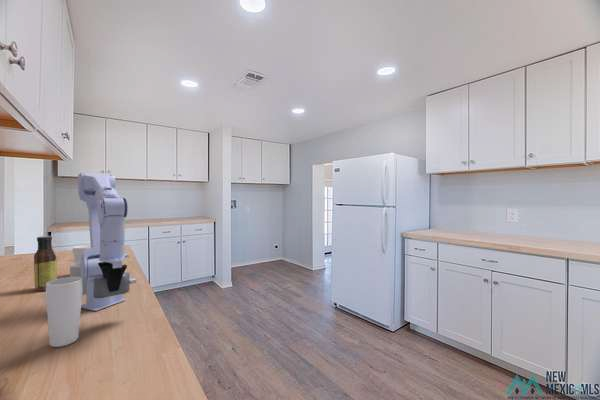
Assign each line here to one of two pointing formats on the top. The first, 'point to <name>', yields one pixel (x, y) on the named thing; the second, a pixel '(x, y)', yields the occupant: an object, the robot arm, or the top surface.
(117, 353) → the top surface
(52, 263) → the sauce bottle
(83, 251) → the foam cup
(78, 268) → the mug
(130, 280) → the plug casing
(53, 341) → the drinking glass
